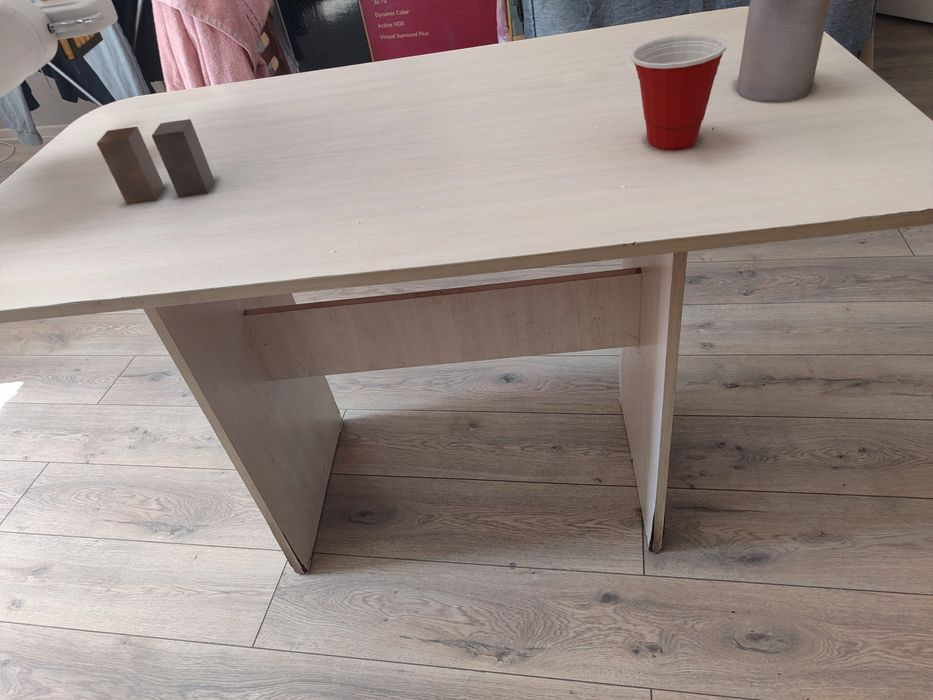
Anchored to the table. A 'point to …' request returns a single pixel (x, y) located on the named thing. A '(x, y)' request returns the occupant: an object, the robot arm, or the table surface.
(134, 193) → the walnut block
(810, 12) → the pillar candle
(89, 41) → the ammunition clip
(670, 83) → the plastic cup
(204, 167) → the dark gray block
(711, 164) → the table surface
